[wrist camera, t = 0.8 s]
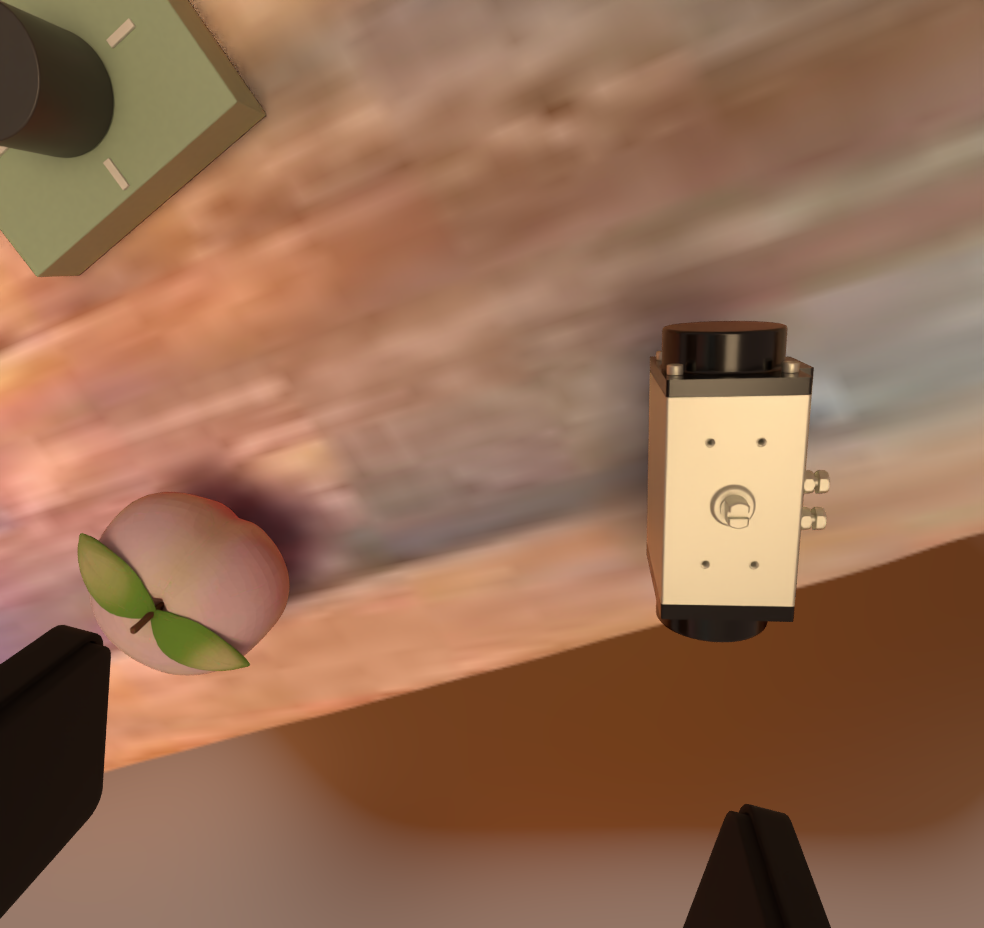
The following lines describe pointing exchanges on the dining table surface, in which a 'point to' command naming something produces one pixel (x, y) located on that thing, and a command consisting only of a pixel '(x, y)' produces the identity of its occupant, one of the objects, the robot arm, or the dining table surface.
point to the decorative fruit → (184, 583)
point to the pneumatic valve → (728, 477)
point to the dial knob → (50, 88)
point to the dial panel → (125, 131)
